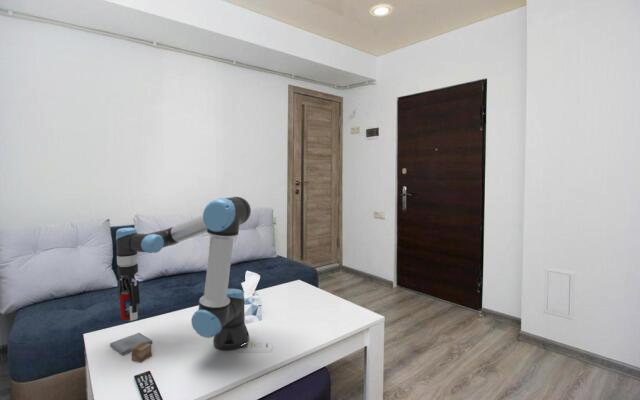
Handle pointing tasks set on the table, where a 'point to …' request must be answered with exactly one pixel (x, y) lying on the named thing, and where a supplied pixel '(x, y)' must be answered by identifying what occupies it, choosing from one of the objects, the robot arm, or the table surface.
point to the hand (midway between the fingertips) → (129, 317)
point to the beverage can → (126, 306)
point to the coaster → (129, 343)
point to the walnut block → (141, 352)
